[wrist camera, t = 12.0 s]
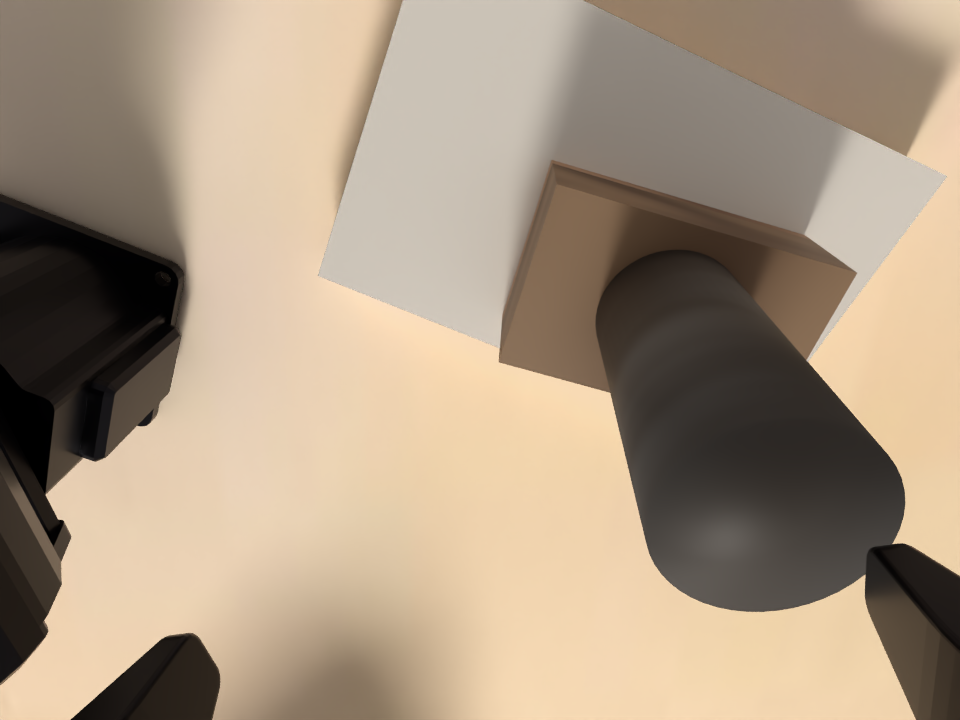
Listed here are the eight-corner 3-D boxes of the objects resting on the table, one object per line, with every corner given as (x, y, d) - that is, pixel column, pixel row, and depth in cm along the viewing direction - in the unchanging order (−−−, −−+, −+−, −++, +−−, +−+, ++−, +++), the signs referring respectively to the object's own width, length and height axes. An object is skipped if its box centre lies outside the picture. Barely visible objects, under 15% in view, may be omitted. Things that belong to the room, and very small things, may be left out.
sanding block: (502, 314, 18) (482, 577, 10) (551, 159, 16) (583, 308, 7) (729, 377, 19) (912, 683, 10) (805, 234, 17) (1118, 460, 8)
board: (335, 253, 20) (317, 276, 18) (436, -64, 16) (426, -76, 14) (726, 412, 22) (744, 446, 20) (904, 161, 18) (947, 176, 16)
